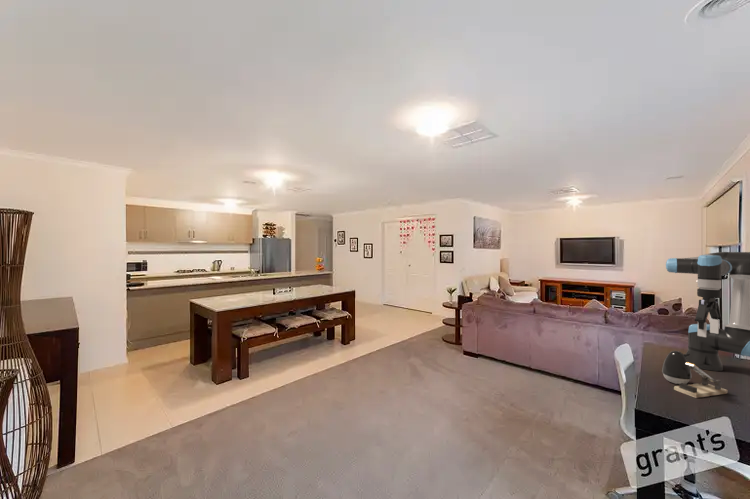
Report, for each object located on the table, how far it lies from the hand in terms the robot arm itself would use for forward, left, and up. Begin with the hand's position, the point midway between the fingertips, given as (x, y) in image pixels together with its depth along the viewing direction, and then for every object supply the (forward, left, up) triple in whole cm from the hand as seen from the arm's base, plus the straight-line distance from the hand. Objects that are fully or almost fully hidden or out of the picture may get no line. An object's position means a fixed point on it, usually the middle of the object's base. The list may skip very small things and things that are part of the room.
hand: (708, 334), depth 144 cm
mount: (+7, +1, -25) cm, 26 cm away
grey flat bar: (+7, +1, -17) cm, 18 cm away
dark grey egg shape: (+6, -8, -25) cm, 27 cm away
